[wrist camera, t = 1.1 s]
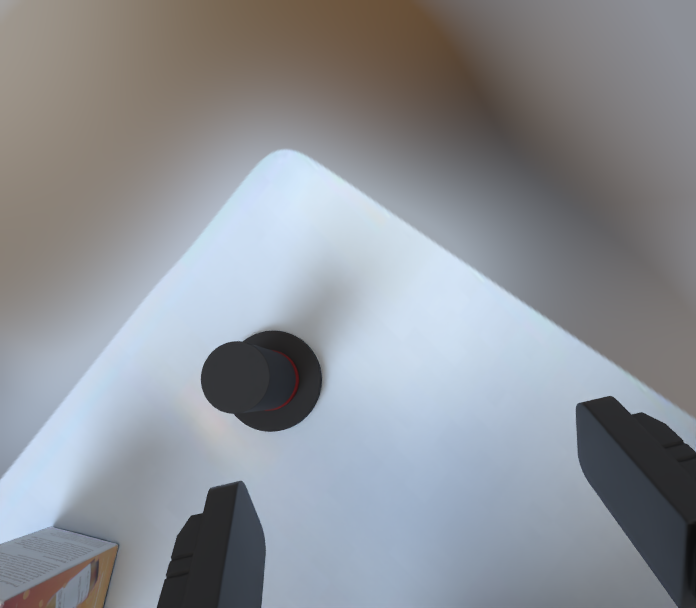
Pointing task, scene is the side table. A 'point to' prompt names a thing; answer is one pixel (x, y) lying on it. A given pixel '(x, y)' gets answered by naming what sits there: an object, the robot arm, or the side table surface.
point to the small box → (55, 570)
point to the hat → (263, 380)
